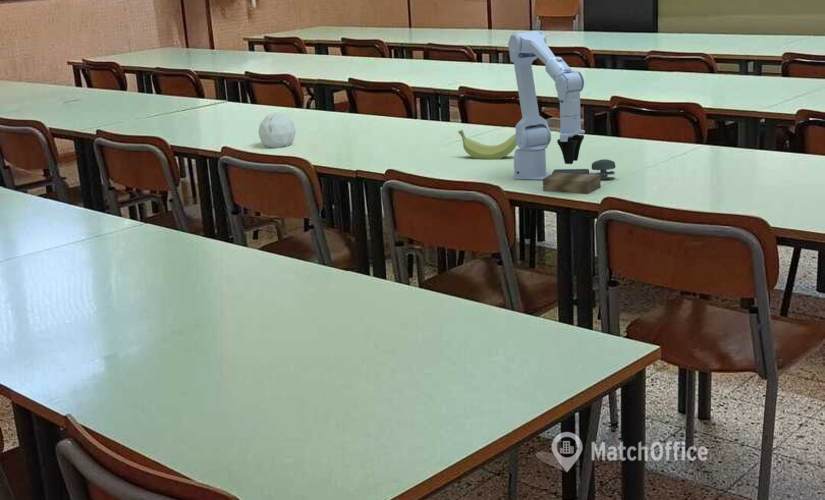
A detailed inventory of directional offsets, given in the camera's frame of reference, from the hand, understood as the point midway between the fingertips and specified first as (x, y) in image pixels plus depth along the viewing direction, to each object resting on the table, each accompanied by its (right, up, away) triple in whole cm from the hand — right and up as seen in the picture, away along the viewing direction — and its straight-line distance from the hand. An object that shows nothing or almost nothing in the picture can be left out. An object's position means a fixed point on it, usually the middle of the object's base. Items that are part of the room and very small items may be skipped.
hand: (571, 162), depth 307 cm
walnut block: (+1, -8, +2) cm, 8 cm away
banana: (-12, +7, +48) cm, 51 cm away
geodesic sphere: (-97, +12, +97) cm, 137 cm away
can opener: (+6, -4, +14) cm, 16 cm away
